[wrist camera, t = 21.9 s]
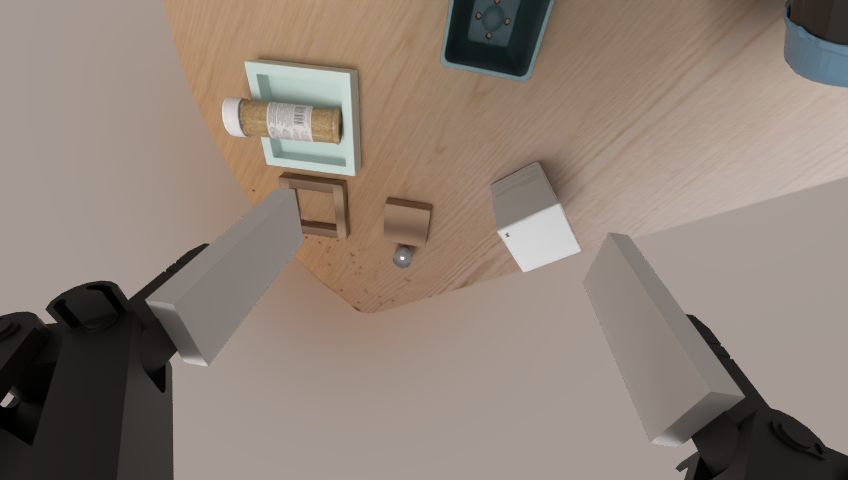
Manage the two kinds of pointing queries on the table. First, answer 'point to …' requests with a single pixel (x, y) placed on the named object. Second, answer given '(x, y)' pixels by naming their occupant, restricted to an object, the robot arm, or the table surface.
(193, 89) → the table surface
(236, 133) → the sprinkles bottle
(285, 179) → the socket block
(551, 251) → the supplement box
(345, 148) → the tray
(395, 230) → the square wooden coaster
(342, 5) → the table surface
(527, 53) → the flower pot
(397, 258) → the bench dog
